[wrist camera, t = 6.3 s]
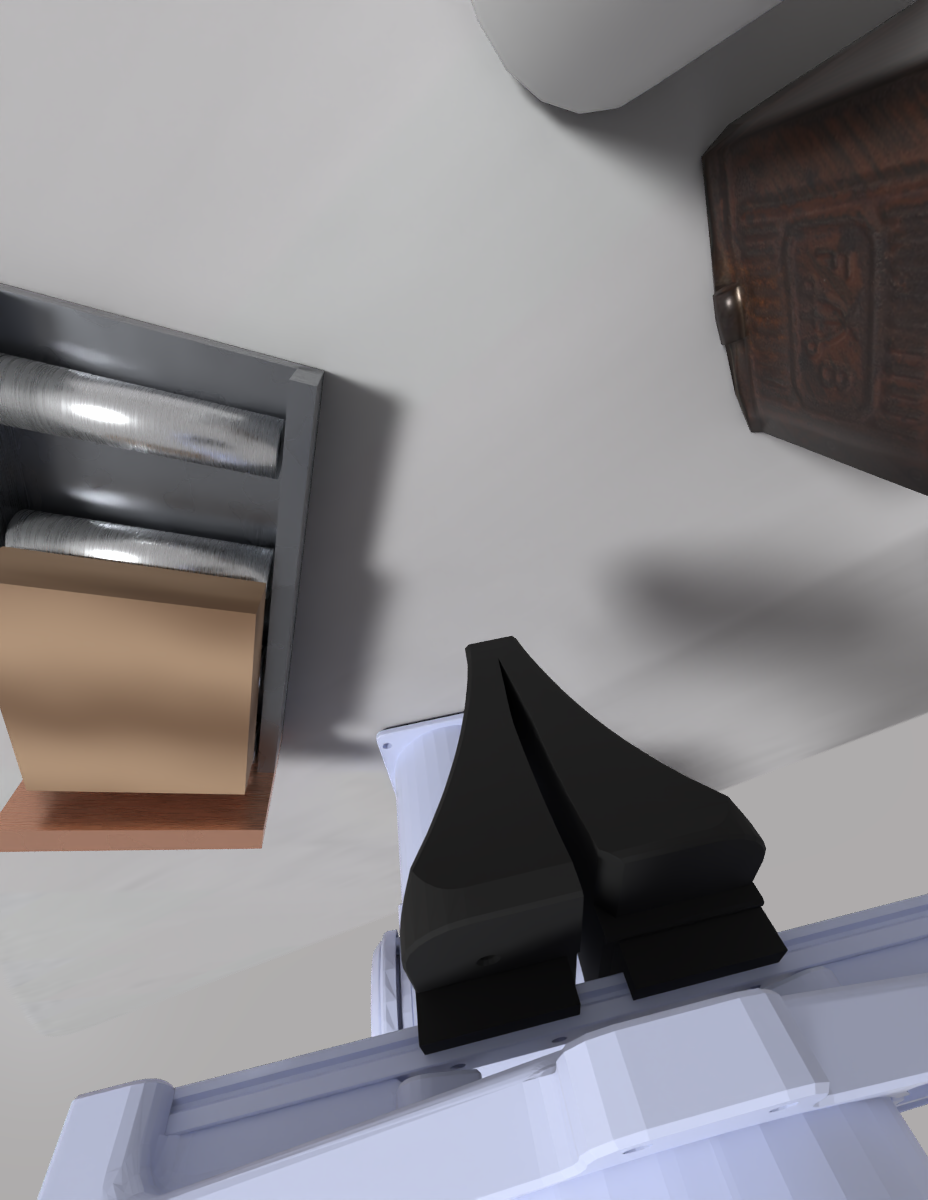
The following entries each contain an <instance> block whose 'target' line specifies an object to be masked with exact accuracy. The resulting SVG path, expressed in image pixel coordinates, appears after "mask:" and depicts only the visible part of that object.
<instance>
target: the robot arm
mask: <svg viewBox="0 0 928 1200" xmlns="http://www.w3.org/2000/svg"><path fill="white" fill-rule="evenodd" d="M465 651H466V657H467V664H468V681H467V692H466V702H465V709H464V713H461V714H457V715H452V716H447V717H443V718H438V719H433V720H429V721H424V722H419V723H415V724H410V725H405V726H401V727H396V728H391V729H386V730H382V731H380V732H379V733H378V734H377V744H378V747H379V749H380V752H381V755H382V758H383V761H384V763H385V766H386V769H387V772H388V775H389V778H390V780H391V783H392V786H393V789H394V792H395V794H396V802H397V820H398V838H399V856H400V874H401V893H402V904H400V905H399V906H398V908H399V927H400V937H399V936H398V932H397V930H392V931H387V932H385V933H384V935H383V938H382V941H380V943H379V944H378V946H377V947H376V949H375V950H374V953H373V960H372V974H371V1036H372V1037H370V1038H366V1039H362V1040H358V1041H354V1042H351V1043H347V1044H343V1045H339V1046H335V1047H331V1048H328V1049H323V1050H320V1051H316V1052H312V1053H308V1054H304V1055H300V1056H296V1057H293V1058H289V1059H285V1060H281V1061H277V1062H273V1063H269V1064H265V1065H261V1066H257V1067H254V1068H250V1069H246V1070H242V1071H238V1072H234V1073H231V1074H226V1075H223V1076H219V1077H215V1078H211V1079H207V1080H203V1081H199V1082H195V1083H192V1084H188V1085H184V1086H180V1087H176V1088H173V1086H172V1085H171V1084H169V1083H168V1082H167V1081H164V1080H161V1079H142V1080H136V1081H132V1082H128V1083H124V1084H120V1085H116V1086H112V1087H108V1088H105V1089H101V1090H97V1091H93V1092H89V1093H85V1094H81V1095H79V1096H78V1097H77V1098H75V1099H74V1100H73V1101H72V1103H71V1106H70V1109H69V1112H68V1114H67V1117H66V1120H65V1123H64V1126H63V1129H62V1131H61V1134H60V1137H59V1140H58V1143H57V1145H56V1148H55V1151H54V1154H53V1156H52V1159H51V1162H50V1165H49V1167H48V1170H47V1173H46V1176H45V1179H44V1181H43V1184H42V1187H41V1190H40V1192H39V1195H38V1198H37V1200H928V1156H927V1155H926V1153H925V1152H924V1150H923V1149H922V1147H921V1145H920V1144H919V1143H918V1141H917V1139H916V1138H915V1136H914V1134H913V1133H912V1131H911V1130H910V1128H909V1127H908V1125H907V1124H906V1122H905V1120H904V1119H903V1117H902V1116H901V1114H900V1113H901V1112H904V1111H907V1110H911V1109H914V1108H917V1107H920V1106H923V1105H927V1104H928V894H925V895H921V896H918V897H914V898H909V899H905V900H902V901H898V902H894V903H890V904H886V905H882V906H878V907H874V908H871V909H867V910H863V911H859V912H855V913H851V914H847V915H844V916H840V917H836V918H832V919H828V920H824V921H820V922H817V923H813V924H808V925H805V926H801V927H797V928H793V929H789V930H785V931H781V932H776V930H775V928H774V927H773V925H772V924H771V922H770V920H769V919H768V917H767V916H766V914H765V913H764V911H763V910H762V908H761V906H763V904H764V900H763V898H762V896H761V894H760V893H759V891H758V890H757V888H756V886H755V885H754V883H753V882H752V881H753V880H754V878H755V875H756V873H757V872H758V870H759V867H760V866H761V863H762V862H763V859H764V855H765V851H766V847H765V844H764V841H763V840H762V838H761V837H760V836H759V834H758V833H757V831H756V830H755V829H754V827H753V825H752V824H751V823H750V822H749V820H748V819H747V818H746V817H745V816H744V814H743V813H742V812H741V811H740V810H739V809H738V808H737V806H736V805H735V804H734V803H733V802H732V801H731V799H730V798H729V797H728V796H726V795H724V794H721V793H719V792H717V791H715V790H713V789H711V788H709V787H707V786H705V785H703V784H701V783H699V782H696V781H694V780H692V779H690V778H688V777H686V776H684V775H682V774H680V773H679V772H677V771H675V770H673V769H671V768H670V767H668V766H666V765H664V764H662V763H661V762H659V761H657V760H656V759H654V758H653V757H651V756H649V755H648V754H646V753H645V752H643V751H641V750H640V749H638V748H636V747H635V746H633V745H632V744H630V743H628V742H627V741H625V740H624V739H623V738H621V737H620V736H618V735H617V734H616V733H614V732H613V731H611V730H610V729H608V728H607V727H606V726H604V725H603V724H602V723H601V722H599V721H598V720H597V719H595V718H594V717H593V716H592V715H590V714H589V713H588V712H587V711H585V710H584V709H583V708H582V707H581V706H580V705H578V704H577V703H576V702H575V701H574V700H573V699H572V698H570V697H569V696H568V695H567V694H566V693H565V692H564V691H563V690H562V689H561V688H560V687H559V686H558V685H557V684H556V683H555V682H554V681H553V680H552V679H551V678H550V677H549V676H548V675H547V674H546V673H545V672H544V671H543V670H542V669H541V668H540V667H539V666H538V665H537V664H536V663H535V661H534V660H533V659H532V658H531V657H530V656H529V655H528V653H527V652H526V651H525V650H524V649H523V647H522V646H521V645H520V643H519V642H518V641H517V639H516V638H514V637H513V636H509V637H504V638H499V639H494V640H489V641H484V642H479V643H474V644H469V645H468V646H467V647H466V648H465ZM385 743H387V744H385Z"/></svg>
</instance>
